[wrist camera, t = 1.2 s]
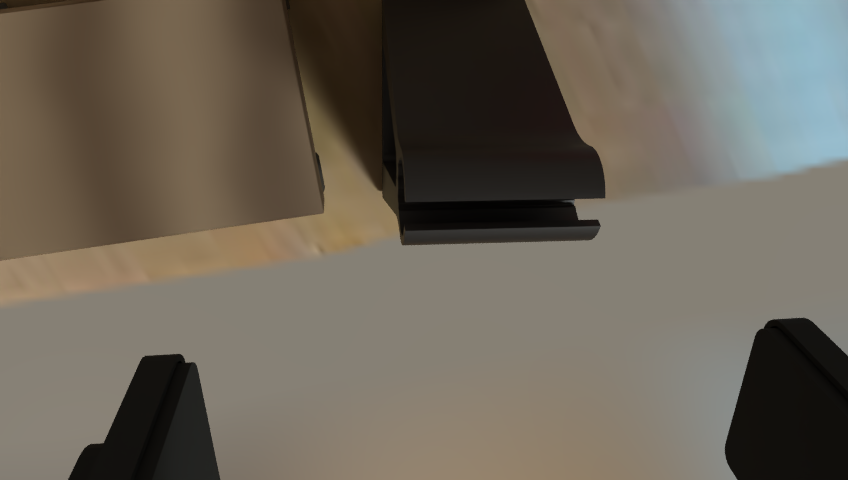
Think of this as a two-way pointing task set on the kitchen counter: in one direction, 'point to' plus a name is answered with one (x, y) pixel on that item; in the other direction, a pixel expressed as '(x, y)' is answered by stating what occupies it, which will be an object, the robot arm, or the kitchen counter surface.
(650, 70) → the kitchen counter surface
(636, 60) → the kitchen counter surface
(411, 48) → the phone stand
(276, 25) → the trolley
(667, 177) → the kitchen counter surface
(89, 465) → the robot arm
